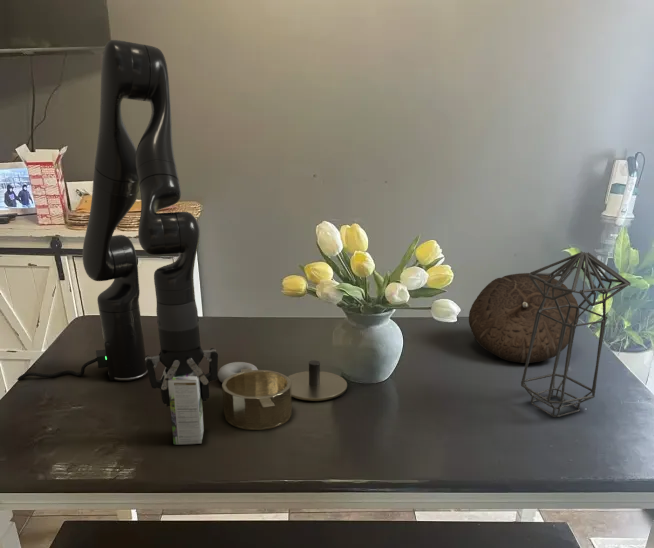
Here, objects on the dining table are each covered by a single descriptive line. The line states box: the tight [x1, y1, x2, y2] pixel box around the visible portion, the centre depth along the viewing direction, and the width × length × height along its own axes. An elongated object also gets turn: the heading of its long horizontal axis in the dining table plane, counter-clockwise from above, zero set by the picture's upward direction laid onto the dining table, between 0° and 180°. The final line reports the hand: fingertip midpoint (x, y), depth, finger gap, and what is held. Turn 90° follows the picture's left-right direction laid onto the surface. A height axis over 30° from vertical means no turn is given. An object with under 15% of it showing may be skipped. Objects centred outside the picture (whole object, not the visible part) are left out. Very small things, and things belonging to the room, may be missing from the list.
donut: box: [217, 361, 259, 384], centre depth 164 cm, size 10×4×10 cm
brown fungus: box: [468, 272, 580, 364], centre depth 178 cm, size 28×23×25 cm
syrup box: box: [168, 371, 205, 446], centre depth 136 cm, size 6×6×14 cm
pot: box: [221, 368, 293, 431], centre depth 147 cm, size 15×20×8 cm
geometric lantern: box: [520, 250, 632, 418], centre depth 145 cm, size 16×16×35 cm
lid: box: [287, 360, 348, 402], centre depth 159 cm, size 16×16×7 cm
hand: (186, 402), depth 135 cm, fingers closed on syrup box, 6 cm apart
